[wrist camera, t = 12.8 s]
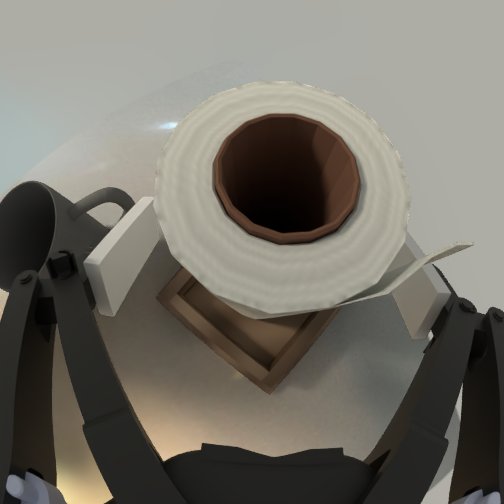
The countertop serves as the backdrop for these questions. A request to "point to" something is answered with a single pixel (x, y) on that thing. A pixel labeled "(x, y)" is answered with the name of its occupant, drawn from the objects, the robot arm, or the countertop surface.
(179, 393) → the countertop surface
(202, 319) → the wooden tray
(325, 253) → the paper towel roll
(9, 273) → the mug
